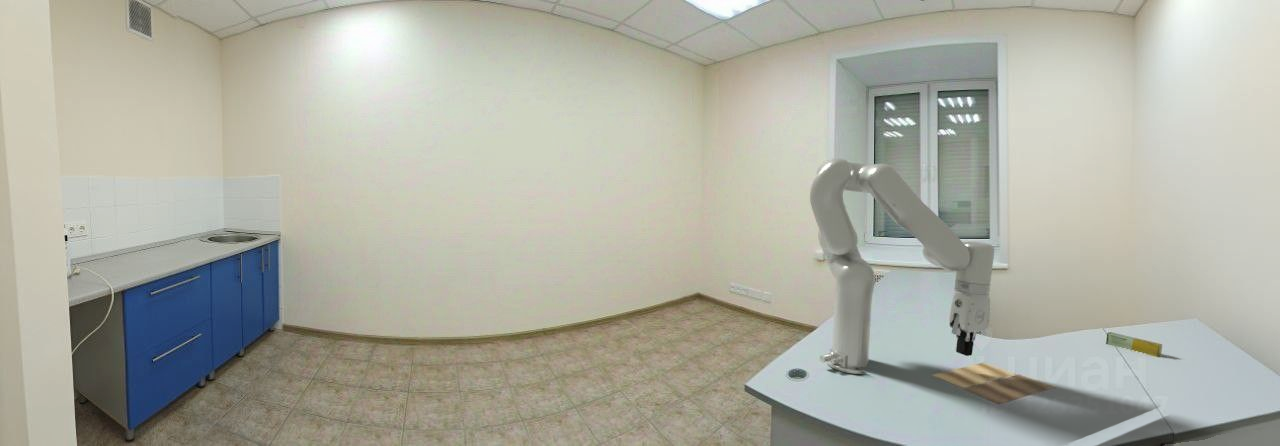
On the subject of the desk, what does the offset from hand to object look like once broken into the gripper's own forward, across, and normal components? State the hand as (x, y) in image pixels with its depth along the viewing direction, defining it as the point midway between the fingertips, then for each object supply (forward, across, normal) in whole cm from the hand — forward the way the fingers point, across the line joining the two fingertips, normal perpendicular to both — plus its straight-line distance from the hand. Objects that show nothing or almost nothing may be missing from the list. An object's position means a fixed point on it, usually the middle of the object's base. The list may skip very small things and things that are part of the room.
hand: (963, 353), depth 122 cm
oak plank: (+6, +1, -3) cm, 7 cm away
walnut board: (+6, +1, -11) cm, 13 cm away
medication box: (+5, +72, -8) cm, 72 cm away
